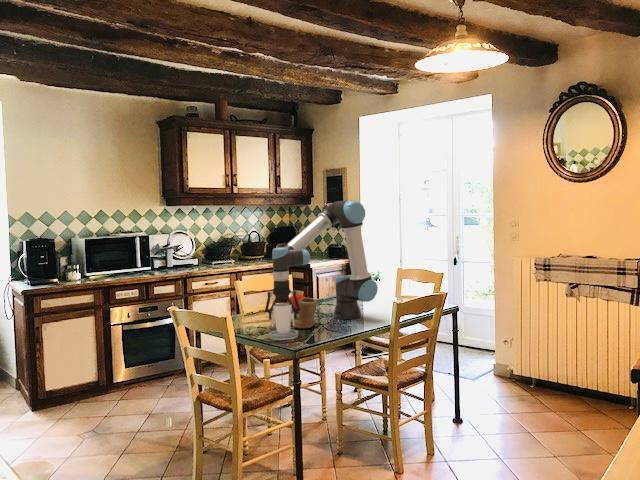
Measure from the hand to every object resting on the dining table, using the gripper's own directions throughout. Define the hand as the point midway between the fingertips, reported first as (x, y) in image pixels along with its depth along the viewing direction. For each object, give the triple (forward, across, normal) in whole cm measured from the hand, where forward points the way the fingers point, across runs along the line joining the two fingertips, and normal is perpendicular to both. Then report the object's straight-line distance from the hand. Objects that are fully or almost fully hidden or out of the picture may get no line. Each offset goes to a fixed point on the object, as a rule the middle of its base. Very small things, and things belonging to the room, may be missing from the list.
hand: (283, 325), depth 274 cm
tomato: (+5, +5, +60) cm, 60 cm away
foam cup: (+3, 0, 0) cm, 3 cm away
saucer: (+5, 0, 0) cm, 5 cm away
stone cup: (+5, +11, +20) cm, 23 cm away
